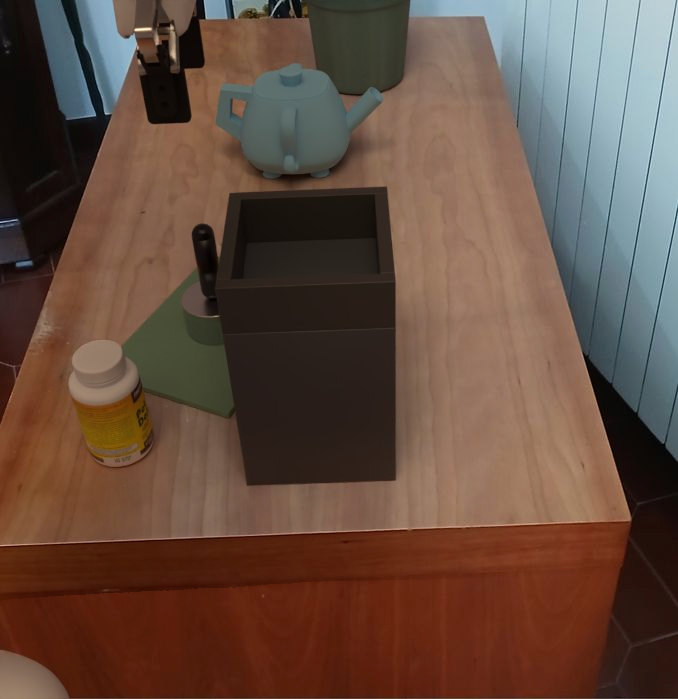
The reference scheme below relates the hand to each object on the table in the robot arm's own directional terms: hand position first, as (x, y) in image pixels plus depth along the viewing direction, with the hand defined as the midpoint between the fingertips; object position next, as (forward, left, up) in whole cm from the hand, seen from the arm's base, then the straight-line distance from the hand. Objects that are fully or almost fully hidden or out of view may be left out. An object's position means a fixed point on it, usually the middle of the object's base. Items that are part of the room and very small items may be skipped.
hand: (178, 93), depth 72 cm
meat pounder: (+1, 0, -24) cm, 24 cm away
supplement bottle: (-16, 0, -25) cm, 30 cm away
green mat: (+1, 0, -25) cm, 25 cm away
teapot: (+33, +7, -25) cm, 42 cm away
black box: (-7, -15, -25) cm, 30 cm away
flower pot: (+57, +10, -25) cm, 63 cm away
